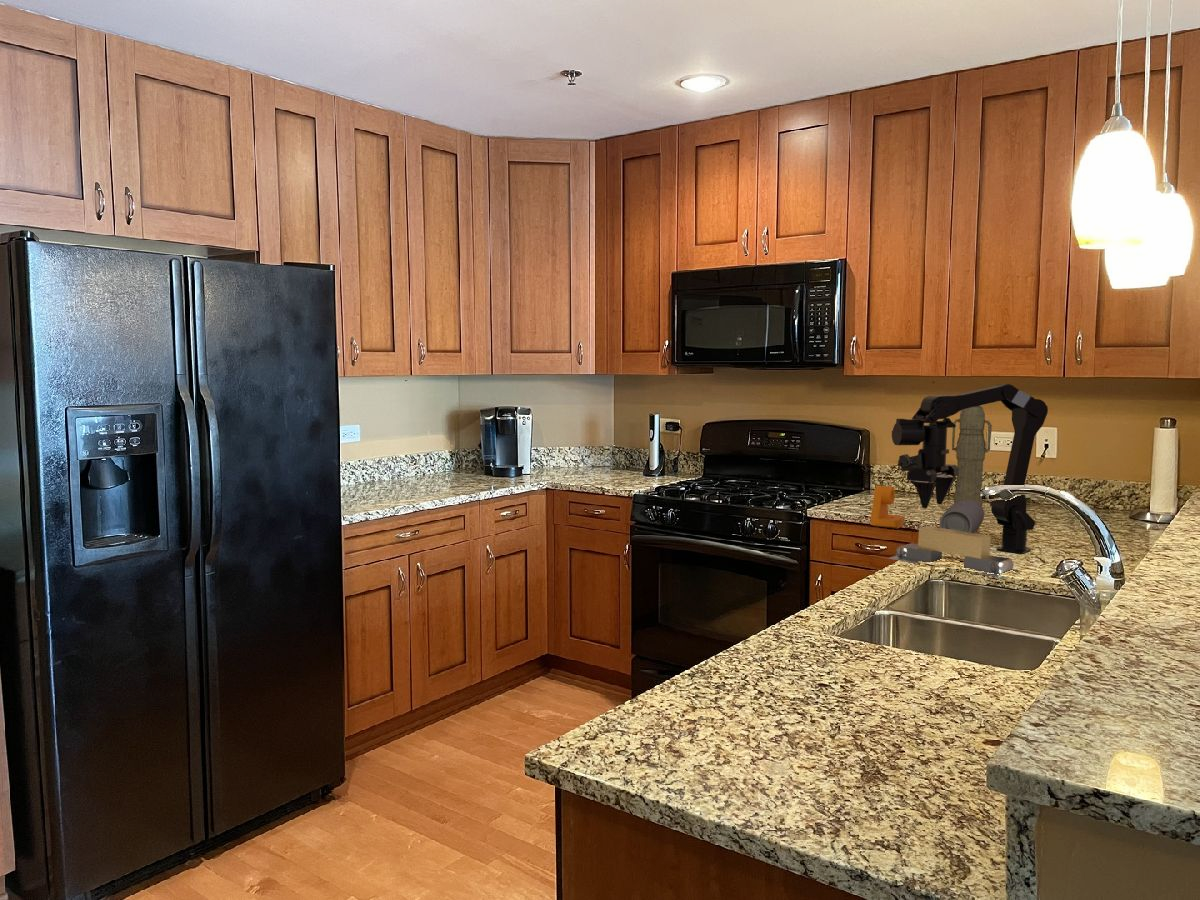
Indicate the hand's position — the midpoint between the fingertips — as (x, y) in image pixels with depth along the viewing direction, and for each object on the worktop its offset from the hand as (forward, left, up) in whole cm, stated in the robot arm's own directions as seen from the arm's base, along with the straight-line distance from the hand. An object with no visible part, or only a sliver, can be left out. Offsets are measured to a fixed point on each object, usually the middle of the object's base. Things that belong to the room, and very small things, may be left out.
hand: (932, 506), depth 226 cm
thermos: (-74, -21, -12) cm, 78 cm away
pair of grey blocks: (+10, +10, -12) cm, 19 cm away
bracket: (-28, -26, -12) cm, 40 cm away
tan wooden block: (+10, +10, -9) cm, 17 cm away
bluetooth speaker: (-26, -3, -12) cm, 29 cm away
